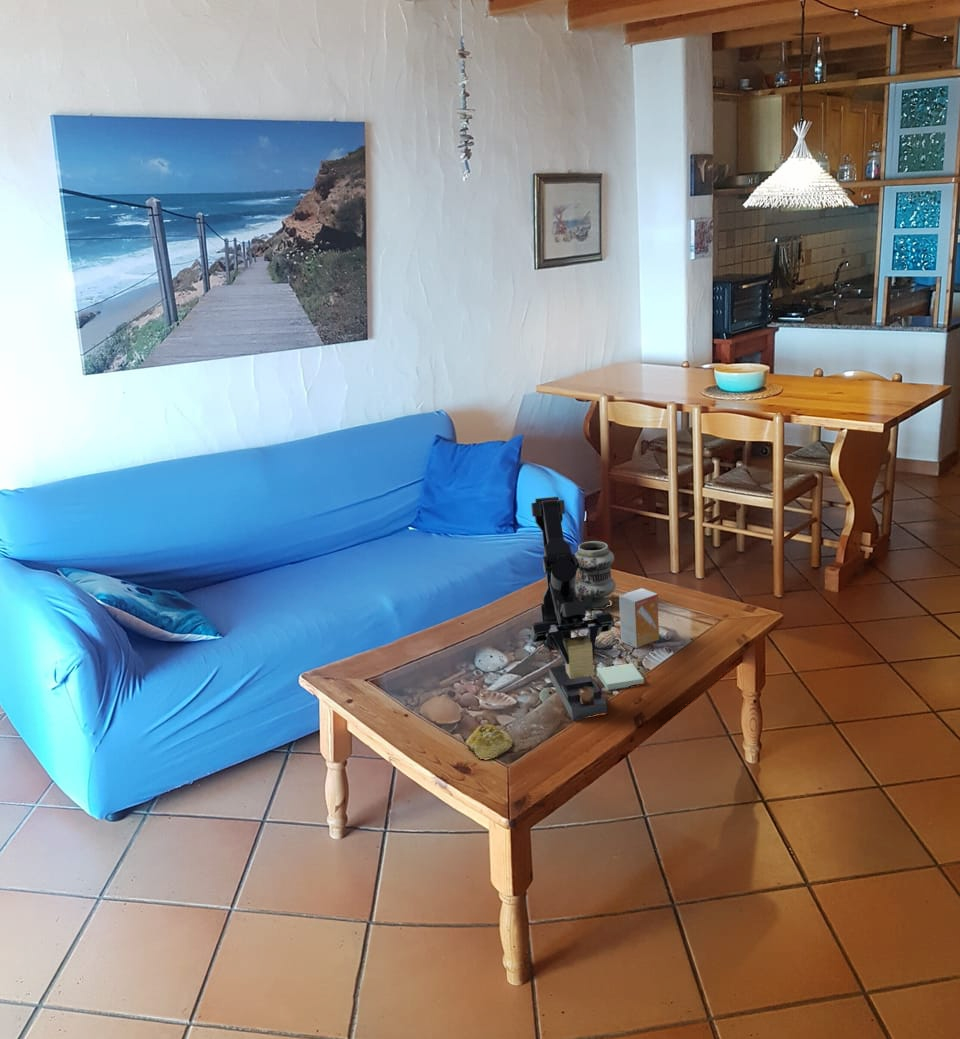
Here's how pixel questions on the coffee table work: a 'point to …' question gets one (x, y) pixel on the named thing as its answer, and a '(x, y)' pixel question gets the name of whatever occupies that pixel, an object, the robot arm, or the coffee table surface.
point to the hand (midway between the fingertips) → (580, 661)
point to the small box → (639, 617)
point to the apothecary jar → (595, 572)
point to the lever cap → (579, 657)
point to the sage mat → (619, 676)
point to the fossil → (489, 741)
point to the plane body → (577, 694)
